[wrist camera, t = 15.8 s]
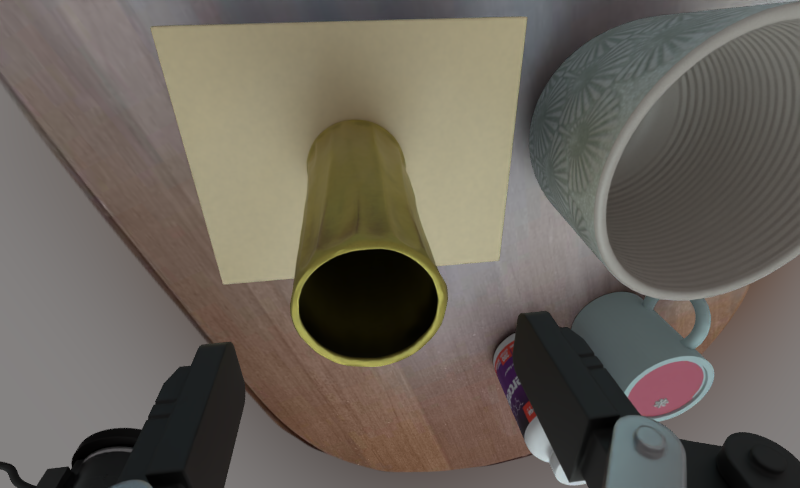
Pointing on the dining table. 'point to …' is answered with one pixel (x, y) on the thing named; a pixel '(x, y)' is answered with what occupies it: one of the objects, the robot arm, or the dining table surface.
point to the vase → (363, 253)
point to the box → (339, 101)
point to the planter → (679, 148)
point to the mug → (648, 352)
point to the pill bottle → (525, 410)
